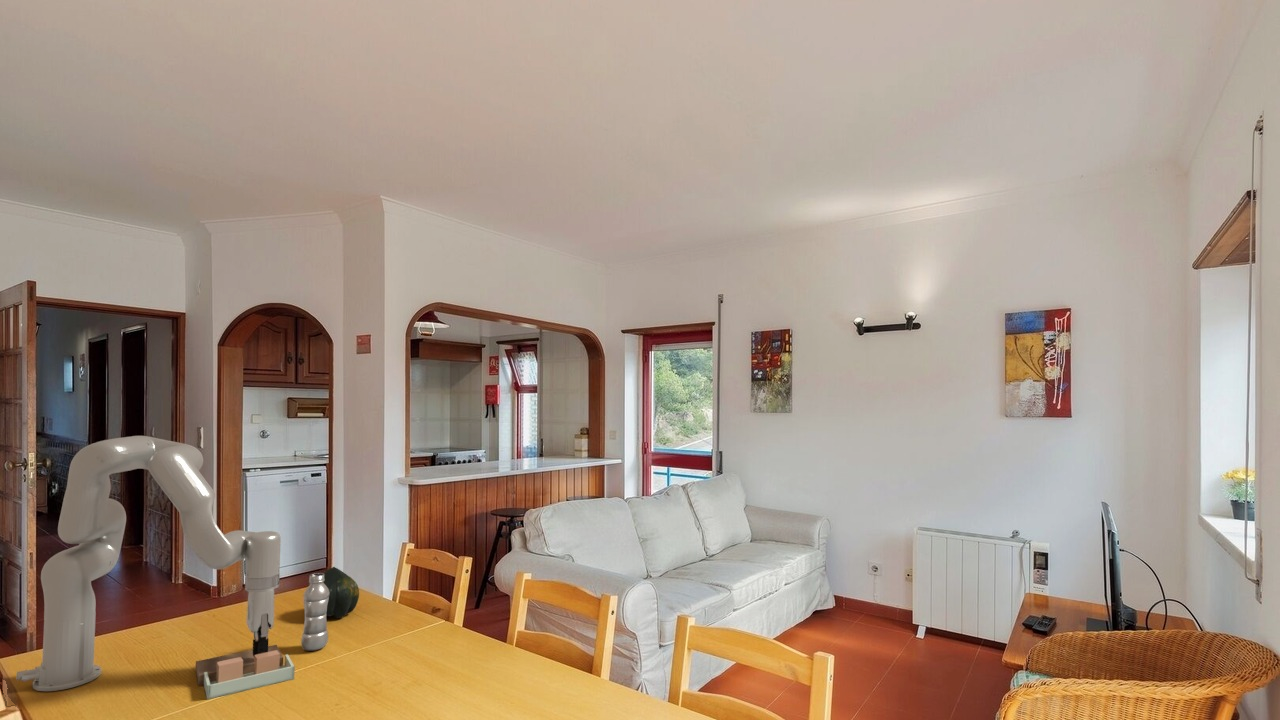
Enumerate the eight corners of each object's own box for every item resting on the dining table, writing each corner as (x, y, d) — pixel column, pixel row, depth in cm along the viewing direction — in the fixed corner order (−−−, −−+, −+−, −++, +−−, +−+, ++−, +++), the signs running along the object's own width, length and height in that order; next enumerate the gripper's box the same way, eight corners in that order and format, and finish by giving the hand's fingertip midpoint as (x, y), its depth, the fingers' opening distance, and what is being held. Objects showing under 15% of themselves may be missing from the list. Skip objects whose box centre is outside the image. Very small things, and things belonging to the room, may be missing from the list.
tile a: (216, 683, 159) (218, 687, 157) (216, 662, 159) (219, 666, 157) (240, 677, 162) (242, 681, 160) (240, 656, 162) (243, 660, 160)
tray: (207, 699, 151) (207, 686, 152) (203, 685, 159) (204, 672, 159) (294, 678, 162) (294, 666, 163) (287, 666, 170) (287, 654, 170)
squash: (331, 610, 196) (353, 563, 206) (288, 607, 199) (312, 561, 209) (354, 629, 205) (374, 583, 216) (313, 626, 209) (334, 581, 219)
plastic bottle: (295, 650, 179) (297, 576, 180) (317, 642, 185) (320, 570, 186) (311, 655, 176) (313, 579, 177) (333, 646, 182) (335, 573, 183)
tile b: (253, 675, 163) (256, 679, 161) (254, 655, 163) (256, 659, 161) (276, 670, 166) (279, 674, 164) (277, 649, 167) (279, 653, 164)
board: (198, 686, 158) (199, 675, 158) (195, 671, 166) (195, 661, 166) (283, 667, 169) (283, 657, 169) (276, 654, 177) (276, 644, 177)
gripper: (241, 577, 172) (239, 648, 171) (249, 592, 160) (247, 669, 159) (274, 572, 176) (271, 642, 176) (284, 586, 164) (282, 661, 164)
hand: (260, 654), depth 167 cm, fingers closed
